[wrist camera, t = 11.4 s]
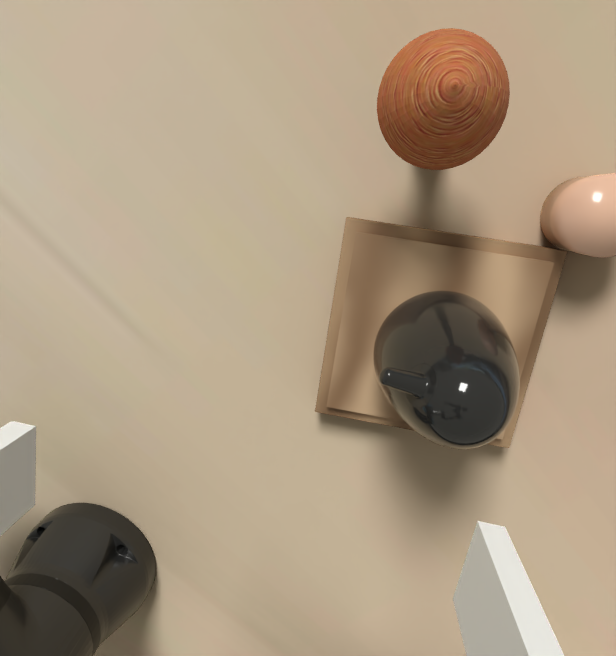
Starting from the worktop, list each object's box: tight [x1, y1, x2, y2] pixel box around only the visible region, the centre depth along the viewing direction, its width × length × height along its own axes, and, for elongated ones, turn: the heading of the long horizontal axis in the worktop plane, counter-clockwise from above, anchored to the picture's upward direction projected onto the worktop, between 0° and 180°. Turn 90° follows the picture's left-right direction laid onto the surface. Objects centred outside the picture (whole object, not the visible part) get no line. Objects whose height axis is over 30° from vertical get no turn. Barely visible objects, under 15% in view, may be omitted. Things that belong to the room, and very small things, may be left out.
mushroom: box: [377, 28, 510, 170], centre depth 31 cm, size 8×8×15 cm
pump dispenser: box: [373, 291, 520, 449], centre depth 32 cm, size 10×10×15 cm
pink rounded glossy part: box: [540, 173, 616, 258], centre depth 36 cm, size 6×6×5 cm
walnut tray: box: [315, 217, 568, 448], centre depth 41 cm, size 18×18×3 cm
